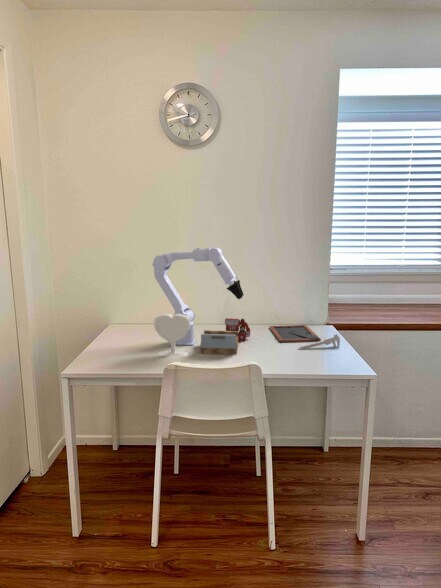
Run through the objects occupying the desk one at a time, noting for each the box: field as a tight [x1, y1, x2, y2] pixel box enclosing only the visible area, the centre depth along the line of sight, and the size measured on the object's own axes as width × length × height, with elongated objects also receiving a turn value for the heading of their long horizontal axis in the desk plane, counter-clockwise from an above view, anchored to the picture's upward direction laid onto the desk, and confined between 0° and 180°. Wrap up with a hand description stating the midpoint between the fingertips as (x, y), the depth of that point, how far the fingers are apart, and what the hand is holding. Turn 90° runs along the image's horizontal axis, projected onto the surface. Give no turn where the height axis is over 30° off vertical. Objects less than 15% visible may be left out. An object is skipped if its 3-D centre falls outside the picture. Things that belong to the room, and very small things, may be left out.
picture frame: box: [268, 324, 322, 344], centre depth 211 cm, size 20×2×25 cm
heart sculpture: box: [153, 312, 191, 357], centre depth 182 cm, size 16×5×18 cm, turn 83°
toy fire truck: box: [224, 318, 251, 342], centre depth 203 cm, size 7×12×10 cm, turn 82°
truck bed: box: [200, 329, 239, 355], centre depth 189 cm, size 16×12×7 cm
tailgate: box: [200, 333, 236, 349], centre depth 181 cm, size 15×2×6 cm, turn 84°
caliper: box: [297, 333, 341, 351], centre depth 190 cm, size 20×1×6 cm, turn 102°
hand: (241, 297), depth 188 cm, fingers open, 7 cm apart
